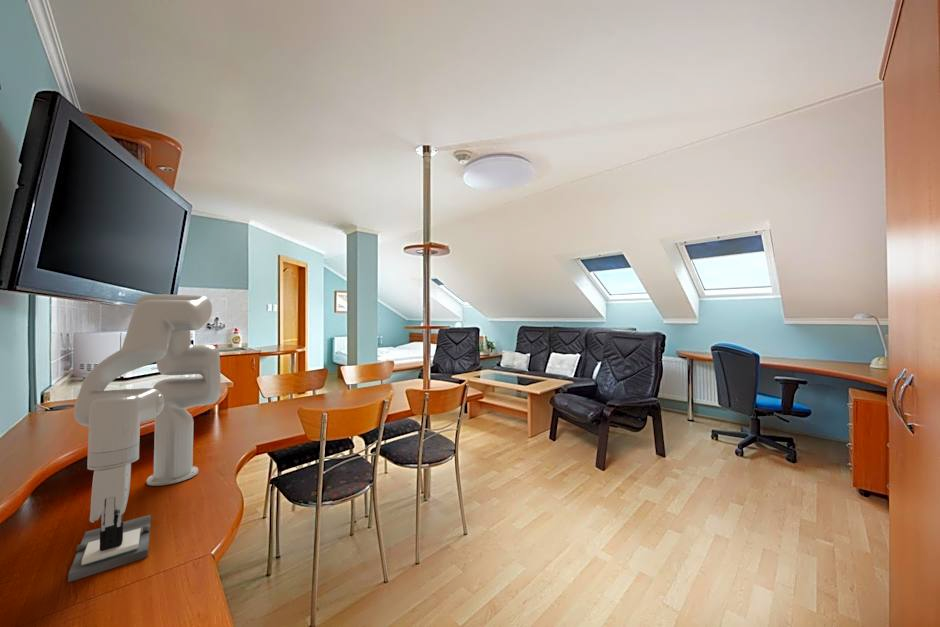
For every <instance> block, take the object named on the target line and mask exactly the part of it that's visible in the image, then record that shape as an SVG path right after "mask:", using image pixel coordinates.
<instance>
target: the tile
mask: <svg viewBox="0 0 940 627" xmlns="http://www.w3.org/2000/svg"><path fill="white" fill-rule="evenodd" d="M140 532H141V528H139V529H135V530H132V531H128V532H124V533H123V541H122V544H121V545H120V546H117V547H114V548H110V549H107V550H103V551H100V539H99V540H96V541H92V542H89V543H88V545H87V548H86V550H85V553H84V555H83V558H82V564H81V565H83V566H84V565H87V564H90V563H94V562H97V561H100V560H103V559H107V558H110V557H113V556H117V555H120V554H123V553H126V552H130V551H133V550H136V549H137V548H138V547H139V540H140Z"/></svg>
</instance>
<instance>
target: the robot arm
mask: <svg viewBox="0 0 940 627" xmlns="http://www.w3.org/2000/svg"><path fill="white" fill-rule="evenodd" d="M212 311H213V305H212V303H211V300H210V299H209V298H208V297H207V296H205V295H191V294H190V295H186V294H167V293H166V294H165V293H164V294H162V293H161V294H160V293H157V294H156V293H155V294H154V293H153V294H152V293H151V294H145V295H141V296H140V297H138V298H137V299H136V302H135V306H134V309H133V311H132V313H131V318H130V321H129V324H128V328H127V331H126V334H125V337H124V339H123V343H122V347H121V348H120V349H119V350H118V351H116V352H114V353H112V354H110V355H109V356H107V357H106V358H105V359H103V360H102V361H101V362H99V363H98V364H97V365H96V366H94V367H93V368H92V369H91V370H90V371H89V372H88V373H87V375H86V376H85V377H84V379H83V381H82V384H81V385H80V389H79V392H78V395H77V397H76V401H75V405H74V409H73V417H74V420H75V422H76V423H78V425H80V426H84V427H88V433H87V434H88V437H87V438H88V440H87V441H88V442H87V464H86V465H87V468H86V469H87V470H89V471H93V476H92V486H91V498H90V510H89V511H90V513H89V522H90V523H92V524H93V523H95V521H98V520H99V519H101V523H100V524H101V527H100V528H101V530H100V551H103V550H107V549H110V548H114V547H117V546H120V545H121V544H122V541H123V522H124V521H123V515H124V513H125V512H126V508H127V505H128V500H129V497H130V496H129V495H130V489H131V475H132V474H131V473H132V463H135V462H137V461H138V460H139V459H140V436H141V435H140V434H141V433H140V432H141V430H140V429H141V423H144V422H148V421H152V420H153V419H154V444H153V445H154V447H153V448H154V449H153V474H150V475H149V476H148V477H147V479H146V485H148V486H155V487H159V486H160V487H161V486H167V485H168V486H169V485H173V484H177V483H181V482H184V481H186V480H188V479H191V478H193V477H195V476H197V474H198V473H199V468H198V466H196V465H195V466H194V465H193V464H194V463H193V462H194V459H193V458H194V454H193V453H194V447H193V446H194V425H195V424H194V422H195V421H194V418H193V416H192V414H191V413H190V412H189V411H188V410H187V409H186V408H189V407H198V406H208V405H209V406H210V405H214V404H216V403H217V402H218V401H219V399H220V397H221V394H222V393H221V391H222V389H221V388H222V384H221V383H222V382H221V357H220V356H221V355H220V352H219V350H218V348H217V347H216V346H215V345H212V344H192V340H191V331H197V330H200V329H201V328H202V327H203V326H204V325H206V323H207V322H208V321H209V320H210V318H211V317H212V313H213V312H212ZM154 363H156V367H157V371H158V372H159V373H160V374H161V375H164V376H181V377H170V378H165V379H161V380H159V381H157V382H156V383H155V384H154V385H153V386H152V388H151V387H148V388H147V387H145V388H142V387H141V388H130V389H129V388H125V389H108V390H106V388H107V387H108V386H109V384H110V383H111V382H113V381H114V380H116V379H117V378H119V377H121V376H123V375H125V374H127V373H130V372H132V371H135V370H137V369H140V368H143V367H146V366H148V365H149V366H150V365H151V364H154ZM189 375H201V376H189ZM183 376H184V377H183ZM100 516H101V517H100ZM121 522H122V523H121Z"/></svg>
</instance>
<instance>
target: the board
mask: <svg viewBox="0 0 940 627" xmlns="http://www.w3.org/2000/svg"><path fill="white" fill-rule="evenodd" d="M122 522H123V533H124V532H128V531H132V530H135V529H139V528H141V532H140V540H139V547H138V548H137V549H136V550H133V551H130V552H126V553H123V554H120V555H117V556H113V557H110V558H107V559H103V560H100V561H97V562H94V563H90V564H87V565H84V566H83V565H81V564H82V558H83V555H84V553H85V550H86V548H87V545H88V543H89V542H92V541H96V540H99V539H100V530H101V527H99V528H95V529H91V530H86V531H85V532H84V534H83V537H82V539H81V542H80V544H77V545H76V552H77V553H76V554H75V556H74V559H73V561H72V564H71V567H70V568H69V569H70V570H69V572H68V575H67V576H68V577H67V583H70V582H71V583H72V582H73V581H77V580H80V579H82V578H86V577H89V576H92V575H96V574H98V573H102V572H105V571H107V570H110V569H111V570H112V569H113V568H118V567H120V566H123V565H126V564H129V563H133V562H135V561H139V560H143V559H144V558H148V556H149V548H150V547H149V545H150V535H151V534H150V533H151V523H152V514H148V515H144V516H141V517H136V518H133V519H129V520H126V521H122ZM122 522H121V523H122Z"/></svg>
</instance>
